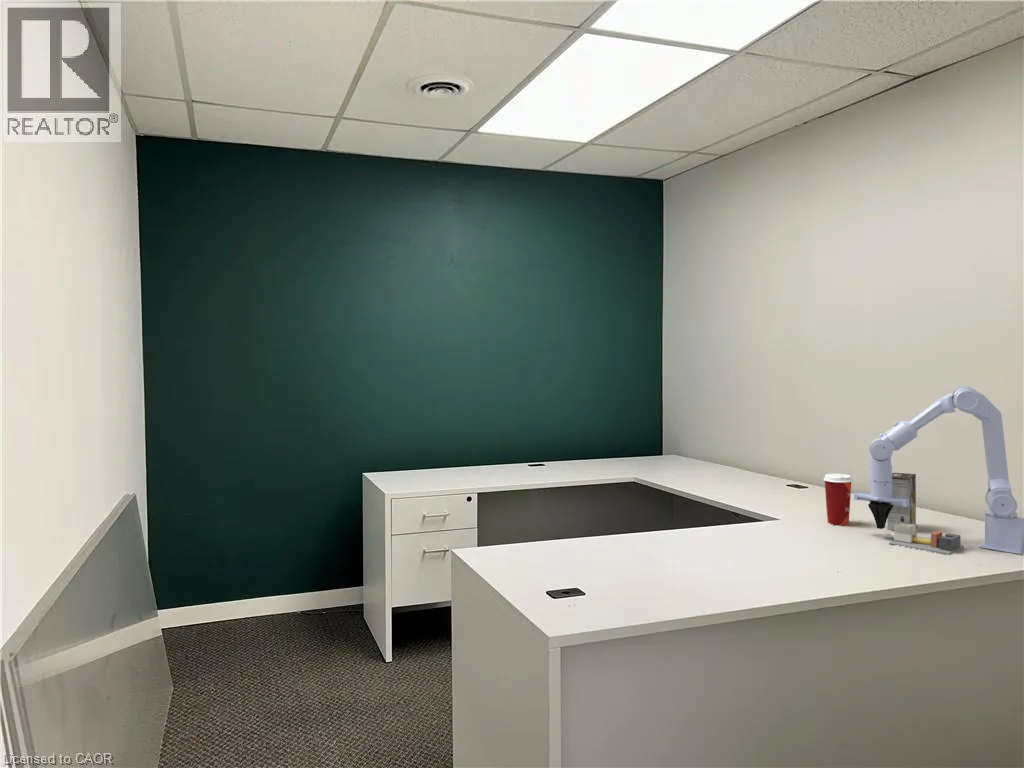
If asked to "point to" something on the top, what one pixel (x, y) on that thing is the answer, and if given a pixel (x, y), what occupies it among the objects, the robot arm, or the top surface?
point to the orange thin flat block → (935, 538)
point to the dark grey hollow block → (949, 542)
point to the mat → (922, 546)
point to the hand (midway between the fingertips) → (880, 528)
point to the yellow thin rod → (921, 540)
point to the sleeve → (905, 531)
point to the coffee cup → (838, 498)
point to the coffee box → (904, 489)
